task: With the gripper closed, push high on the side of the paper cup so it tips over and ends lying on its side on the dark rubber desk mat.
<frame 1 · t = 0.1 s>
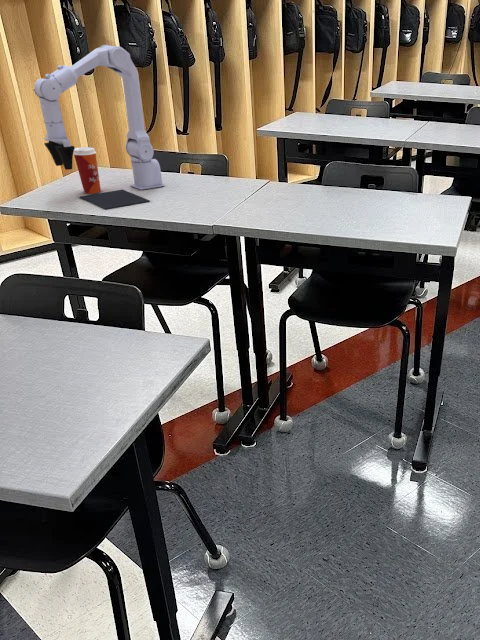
hand: (64, 167, 218), 10 cm above the table, tool pointing down, fingers open, 7 cm apart
desk mat: (114, 199, 224), on the table
paper cup: (92, 192, 232), on the table
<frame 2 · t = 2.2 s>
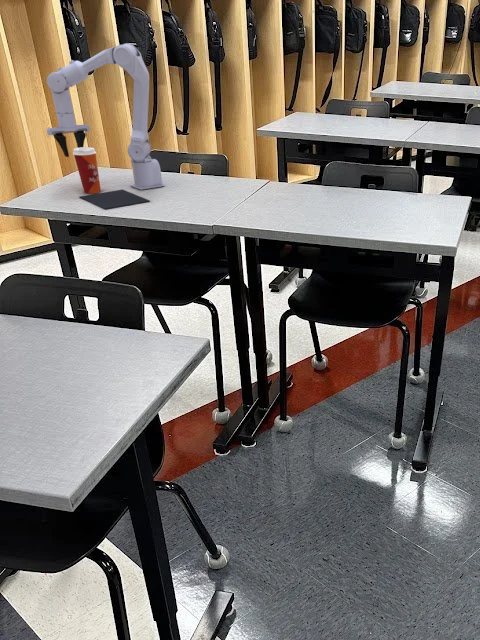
hand: (74, 155, 232), 10 cm above the table, tool pointing down, fingers open, 5 cm apart
nothing on the table moved.
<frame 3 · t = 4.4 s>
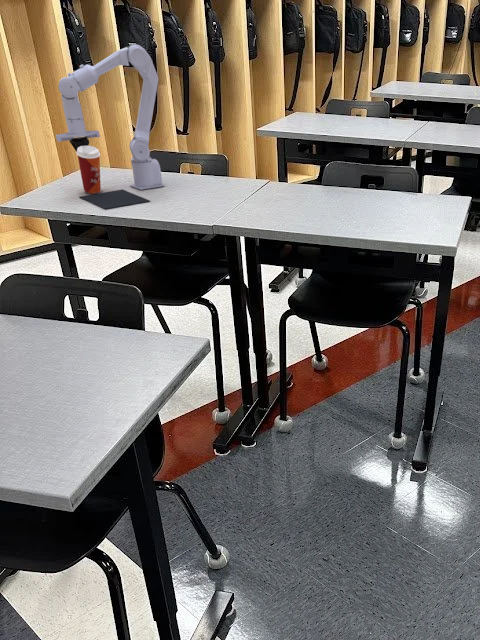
hand: (83, 162, 229), 9 cm above the table, tool pointing down, fingers closed
paper cup: (92, 190, 232), point 1 cm above the table, touching gripper
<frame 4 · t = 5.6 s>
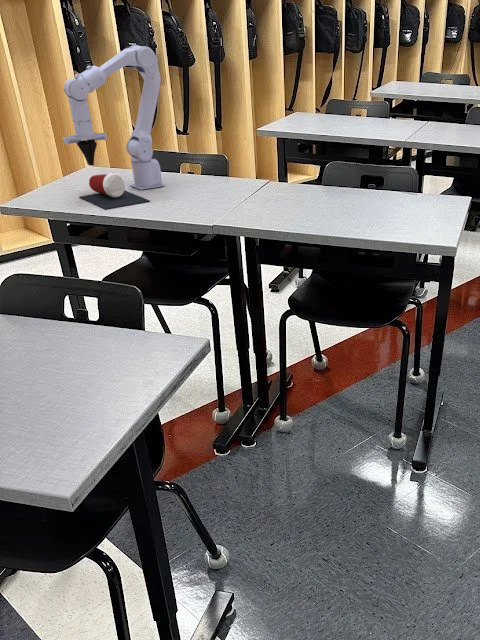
hand: (90, 164, 225), 9 cm above the table, tool pointing down, fingers closed
paper cup: (96, 183, 230), point 3 cm above the table, touching desk mat
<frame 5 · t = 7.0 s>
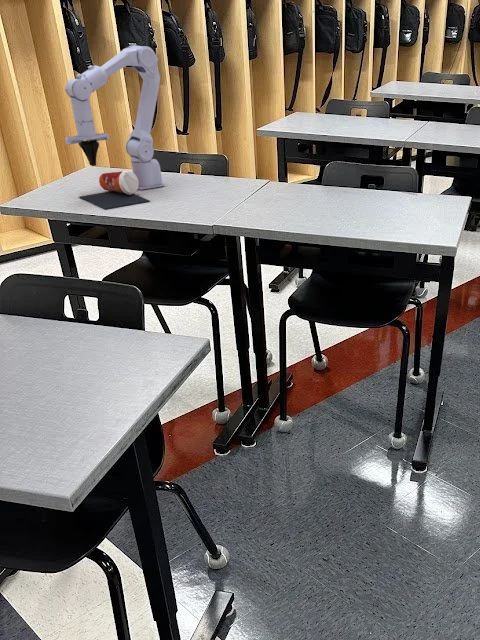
hand: (93, 165, 224), 10 cm above the table, tool pointing down, fingers closed
paper cup: (105, 181, 232), point 3 cm above the table, touching desk mat
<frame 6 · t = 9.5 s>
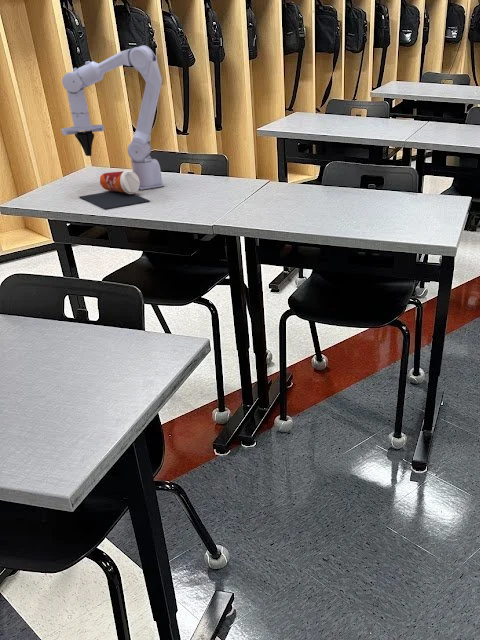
hand: (88, 155, 233), 10 cm above the table, tool pointing down, fingers closed
nothing on the table moved.
at the end: paper cup tilted 83°; paper cup touching desk mat; paper cup inside the target area (5.6 cm from its centre), point 3.0 cm above the table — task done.
